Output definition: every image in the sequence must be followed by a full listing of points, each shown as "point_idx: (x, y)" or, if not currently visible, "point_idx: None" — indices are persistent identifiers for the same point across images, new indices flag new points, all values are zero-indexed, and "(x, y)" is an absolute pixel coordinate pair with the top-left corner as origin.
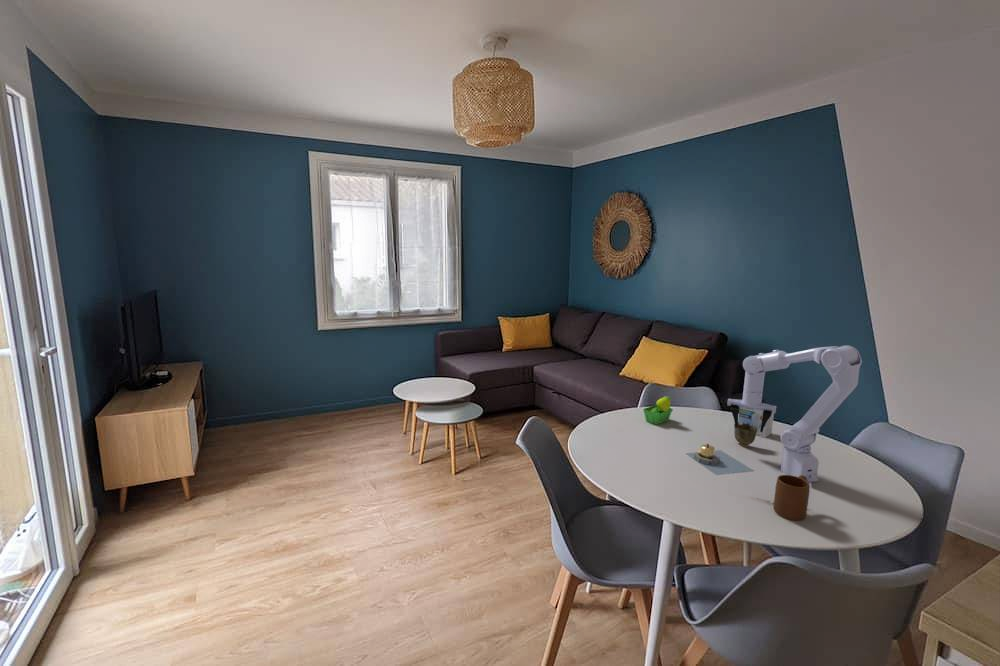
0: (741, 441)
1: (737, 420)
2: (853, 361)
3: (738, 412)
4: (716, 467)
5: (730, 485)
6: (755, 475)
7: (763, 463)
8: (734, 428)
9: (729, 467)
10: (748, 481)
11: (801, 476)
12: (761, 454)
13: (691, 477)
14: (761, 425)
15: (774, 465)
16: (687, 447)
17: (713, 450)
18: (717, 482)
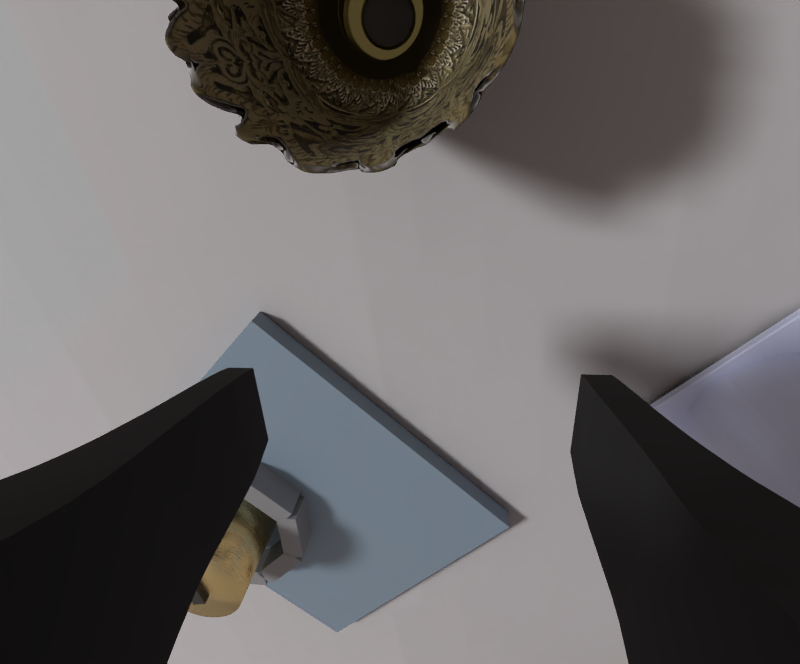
0: (358, 121)
1: (214, 511)
2: None
3: (102, 559)
4: (315, 569)
5: (412, 649)
6: (515, 525)
7: (570, 333)
8: (199, 36)
9: (373, 545)
10: (483, 594)
11: None
12: (563, 132)
13: (255, 644)
14: (604, 562)
15: (652, 326)
16: (56, 338)
17: (245, 592)
18: (358, 645)
